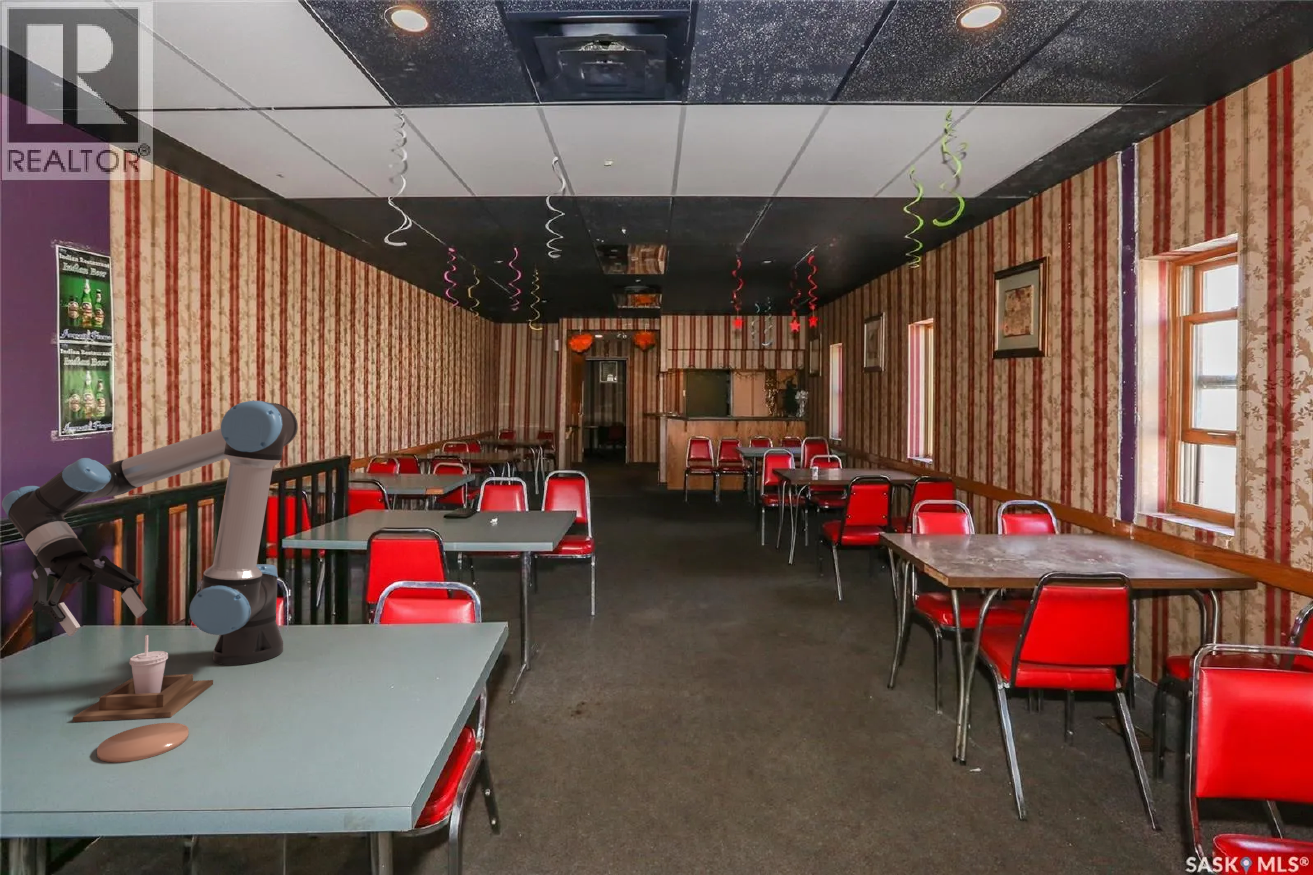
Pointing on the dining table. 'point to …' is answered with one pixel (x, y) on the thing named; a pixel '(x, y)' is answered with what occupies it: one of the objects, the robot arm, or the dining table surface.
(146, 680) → the smoothie
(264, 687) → the dining table surface
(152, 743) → the coaster
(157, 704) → the cup holder
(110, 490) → the robot arm
